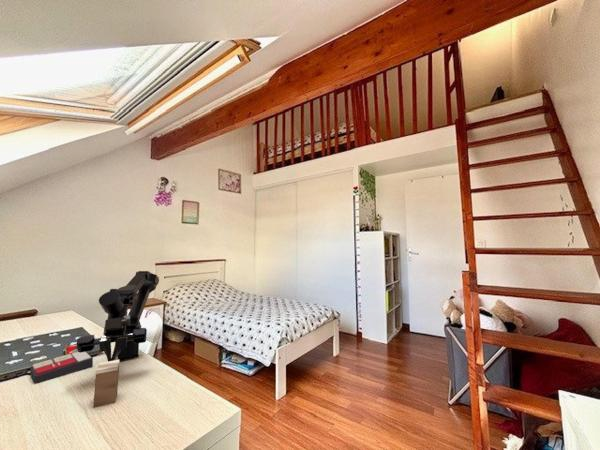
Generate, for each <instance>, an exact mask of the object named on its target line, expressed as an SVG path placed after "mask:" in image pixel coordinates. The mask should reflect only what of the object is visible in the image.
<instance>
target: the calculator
mask: <svg viewBox="0 0 600 450" xmlns="http://www.w3.org/2000/svg"><path fill="white" fill-rule="evenodd" d="M93 359H94V358H93V357H92V356H91V355H90V354H89V353H88V352H82V353H80V352H76V353H73V354H68V355H60V356H58V357H54V358H53V359H48V360H43V361H40V362H36V363H34V364H32V365H31V366H30V372H29V374H30V377H31V379H32V382H33V384H34V385H37V384H41V383H43V382H47V381H51V380H53V379H56V378H60V377H64V376H67V375H70V374H74V373H75V372H80V371H84V370H89V369H91V368H93V365H94V364H93V363H94V361H93Z"/></svg>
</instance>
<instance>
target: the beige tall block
mask: <svg viewBox="0 0 600 450" xmlns="http://www.w3.org/2000/svg"><path fill="white" fill-rule="evenodd" d="M119 371H120V361H119V359H116V360H115V361H109V362H108V361H105V362H99V363H98V365H97V368H96V369H95V376H94V377H95V380H94V392H93V394H94V395H93V405H92V408H93V409H96V408H99V407H102V406H107V405H110V404H115V403H116V401H117V397H118V389H119V388H118V387H119V373H120V372H119Z"/></svg>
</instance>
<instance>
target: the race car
mask: <svg viewBox="0 0 600 450" xmlns="http://www.w3.org/2000/svg"><path fill="white" fill-rule="evenodd" d="M76 344H77V343H76ZM76 344H75V343H74V344H70V345H67V346H65V347H64V349H63V350H62V354H64V355H68V354H73V353H76V352H78V349H77V345H76ZM64 355H63V356H64Z"/></svg>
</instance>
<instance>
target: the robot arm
mask: <svg viewBox="0 0 600 450" xmlns="http://www.w3.org/2000/svg"><path fill="white" fill-rule="evenodd" d="M159 282H160V277H159V276H158V275H157V274H155V273H152V272H151V271H148V270H139V271H136V272H135V274H134V275H133V277H132V278H131V279H130V280H129V282H128V283H126V285H124V286H121V287H119V288H110V290H108V291H106V292H105V293H103V294H102V295H100V296H99V299H98V303H99V305H100V306H101V308H102V310H103V311H104V313H105V314H107V319H105V321H104V329H103V336H101V337H97V338H95V334H89V335H81V336H80V337H78V338H77V341H76V345H77V349H78V352H80V353H82V352H87V353H88V352H92V351H93V350H94V349H95V346H97V345H99V351H100V352H104V354H105V356H106V360H107V362H109V361H115V360H119V363H120V362H123V361H124V362H125V361H128V360H133V359H137V358H139V357H140V355H139V351H140V350H139V348H140V347H139V346H140V344H141V343H142V344H143V343H146V342H147V332H148V331H147V328H146V327H142V325H141V321H140V320H141V317H142V315H143V313H144V309H145V307H146V304H147V301H148V299H149V297H150V293H152V292H154V291H155V290H156V289H157V286H158V285H159ZM128 306H131V308H130V309H129V307H128ZM128 309H129V310H128ZM112 343H114V348H113V352H112Z"/></svg>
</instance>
